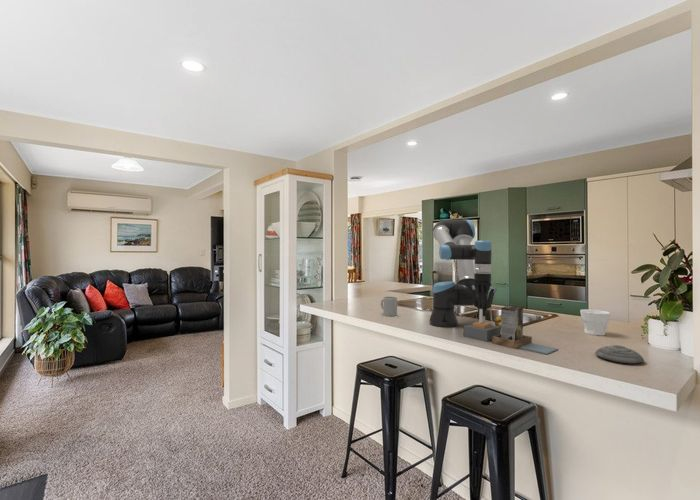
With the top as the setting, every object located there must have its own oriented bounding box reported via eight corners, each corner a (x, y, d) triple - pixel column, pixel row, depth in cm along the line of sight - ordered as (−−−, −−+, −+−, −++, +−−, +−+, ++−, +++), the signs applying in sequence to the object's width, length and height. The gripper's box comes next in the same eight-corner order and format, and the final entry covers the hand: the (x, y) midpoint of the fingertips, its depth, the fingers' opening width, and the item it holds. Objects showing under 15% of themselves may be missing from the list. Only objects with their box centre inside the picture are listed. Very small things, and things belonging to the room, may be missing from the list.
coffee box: (508, 340, 165) (508, 305, 164) (523, 342, 160) (523, 306, 160) (500, 343, 158) (500, 307, 158) (515, 346, 154) (515, 309, 153)
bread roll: (509, 331, 182) (509, 315, 182) (489, 328, 188) (490, 313, 188) (517, 327, 191) (517, 312, 191) (498, 324, 198) (499, 310, 198)
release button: (472, 333, 171) (472, 322, 171) (479, 331, 175) (479, 321, 175) (484, 335, 166) (484, 324, 166) (491, 333, 170) (491, 323, 170)
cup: (575, 329, 186) (576, 308, 186) (602, 331, 183) (602, 309, 183) (586, 335, 174) (586, 313, 173) (615, 337, 171) (615, 314, 171)
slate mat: (519, 348, 151) (519, 347, 151) (531, 344, 158) (531, 342, 158) (546, 354, 142) (546, 353, 142) (558, 349, 149) (558, 348, 149)
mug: (399, 315, 222) (400, 297, 222) (390, 317, 216) (390, 298, 216) (385, 312, 231) (385, 295, 231) (376, 314, 225) (376, 296, 225)
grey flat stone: (591, 352, 147) (591, 338, 147) (635, 356, 142) (636, 342, 142) (600, 363, 134) (600, 348, 134) (650, 368, 128) (650, 353, 128)
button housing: (463, 336, 171) (463, 325, 171) (477, 332, 179) (477, 322, 179) (486, 341, 162) (487, 330, 162) (500, 337, 170) (500, 326, 169)
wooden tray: (491, 343, 159) (492, 336, 159) (507, 338, 168) (507, 331, 168) (516, 348, 150) (516, 341, 150) (531, 343, 159) (531, 336, 159)
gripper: (466, 272, 173) (465, 321, 173) (491, 274, 163) (490, 325, 163) (474, 271, 178) (474, 319, 178) (499, 273, 167) (499, 323, 167)
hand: (482, 322), depth 170 cm, fingers closed
